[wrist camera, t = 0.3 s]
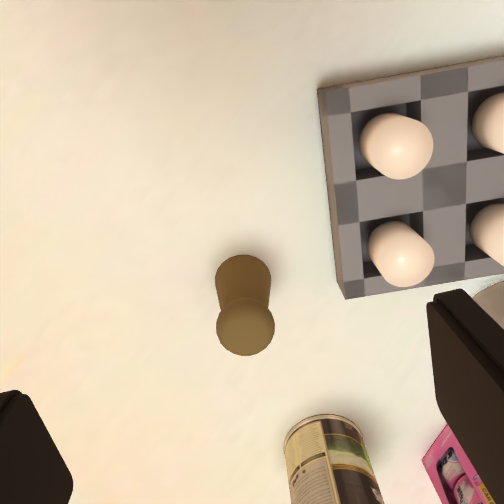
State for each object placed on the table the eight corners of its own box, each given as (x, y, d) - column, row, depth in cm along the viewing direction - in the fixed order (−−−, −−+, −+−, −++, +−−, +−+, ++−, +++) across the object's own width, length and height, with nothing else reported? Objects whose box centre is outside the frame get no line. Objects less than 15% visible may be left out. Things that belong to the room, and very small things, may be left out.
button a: (357, 117, 40) (371, 124, 36) (412, 108, 39) (433, 113, 35) (361, 172, 41) (375, 184, 37) (413, 162, 41) (433, 174, 37)
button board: (316, 89, 42) (325, 92, 38) (535, 50, 41) (565, 49, 38) (337, 281, 50) (345, 299, 46) (521, 251, 49) (544, 266, 45)
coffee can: (359, 407, 57) (397, 511, 44) (364, 468, 61) (401, 579, 48) (277, 420, 57) (291, 526, 44) (287, 479, 61) (303, 593, 48)
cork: (230, 245, 48) (230, 295, 37) (281, 269, 49) (294, 323, 39) (205, 291, 50) (198, 351, 39) (254, 313, 51) (260, 376, 41)
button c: (364, 225, 43) (378, 242, 39) (415, 216, 43) (434, 233, 39) (368, 270, 45) (381, 291, 41) (416, 262, 45) (434, 282, 41)
